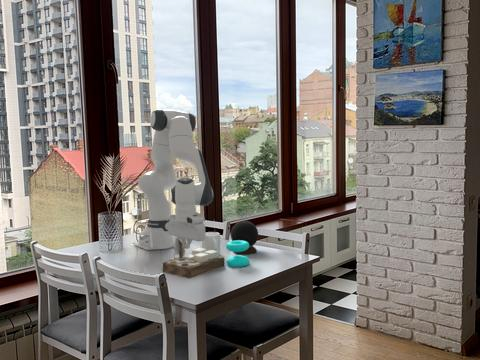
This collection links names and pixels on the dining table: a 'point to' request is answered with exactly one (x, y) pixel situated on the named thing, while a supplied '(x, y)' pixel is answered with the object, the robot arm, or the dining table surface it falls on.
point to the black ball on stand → (245, 235)
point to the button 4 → (212, 254)
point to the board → (191, 266)
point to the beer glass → (178, 247)
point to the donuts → (237, 259)
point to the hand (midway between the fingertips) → (186, 248)
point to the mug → (211, 242)
